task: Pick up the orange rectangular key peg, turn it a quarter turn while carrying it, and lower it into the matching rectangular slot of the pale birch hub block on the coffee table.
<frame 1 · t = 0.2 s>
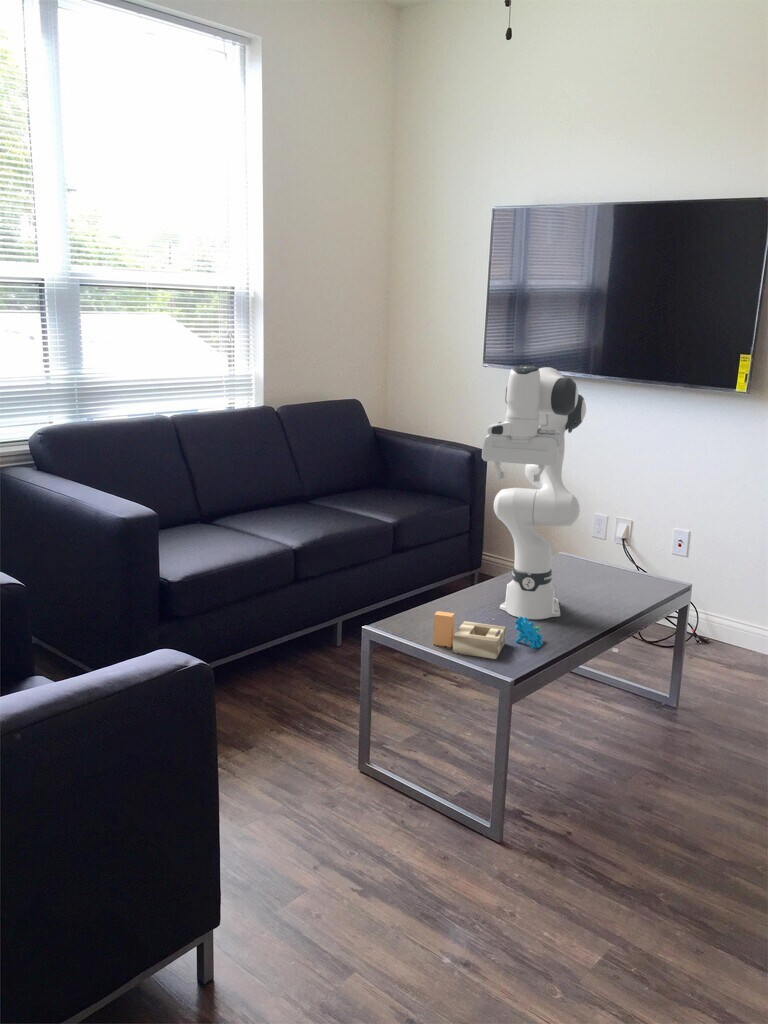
hand: (518, 479, 231), 47 cm above the table, tool pointing down, fingers open, 8 cm apart
key peg: (443, 644, 242), on the table
hub block: (479, 648, 240), on the table
gear: (528, 645, 243), on the table
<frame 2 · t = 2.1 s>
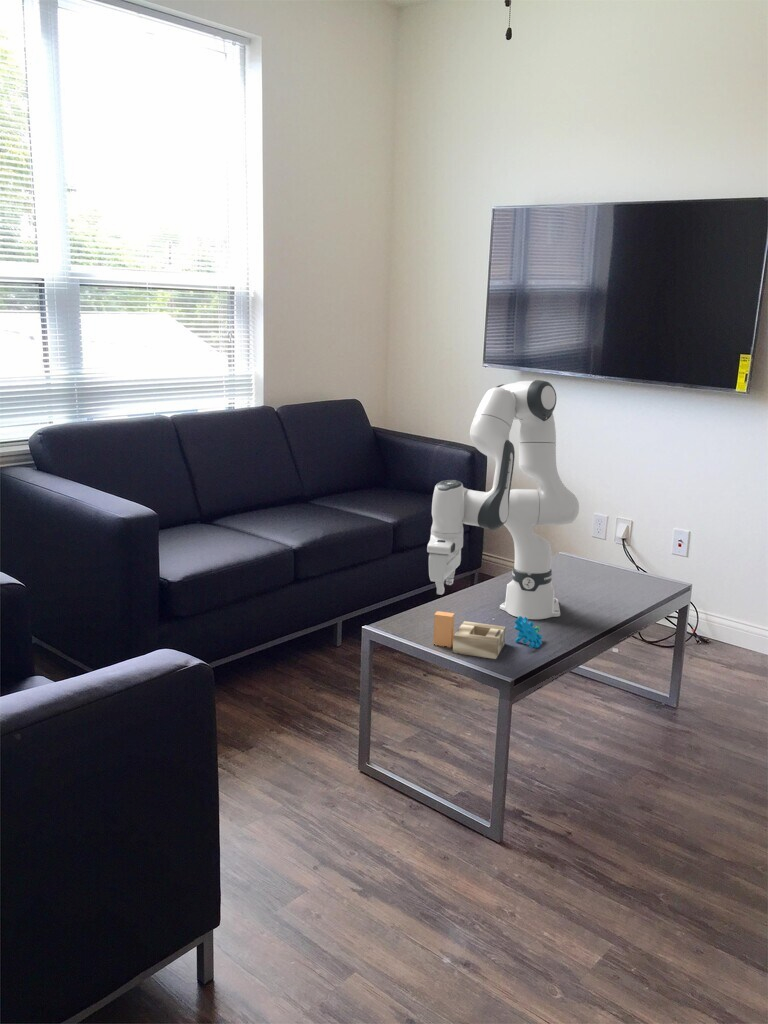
hand: (445, 589, 238), 16 cm above the table, tool pointing down, fingers open, 8 cm apart
nothing on the table moved.
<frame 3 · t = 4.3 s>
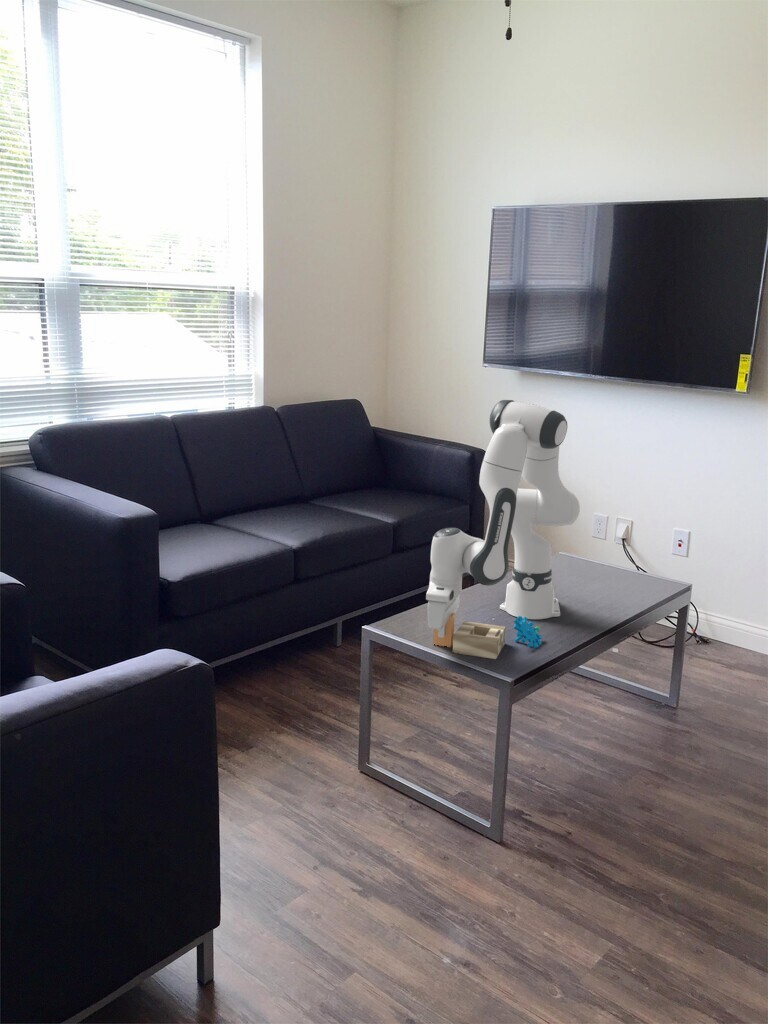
hand: (443, 633, 241), 3 cm above the table, tool pointing down, fingers closed on key peg, 3 cm apart
key peg: (443, 644, 242), on the table, touching gripper
everything else where it was.
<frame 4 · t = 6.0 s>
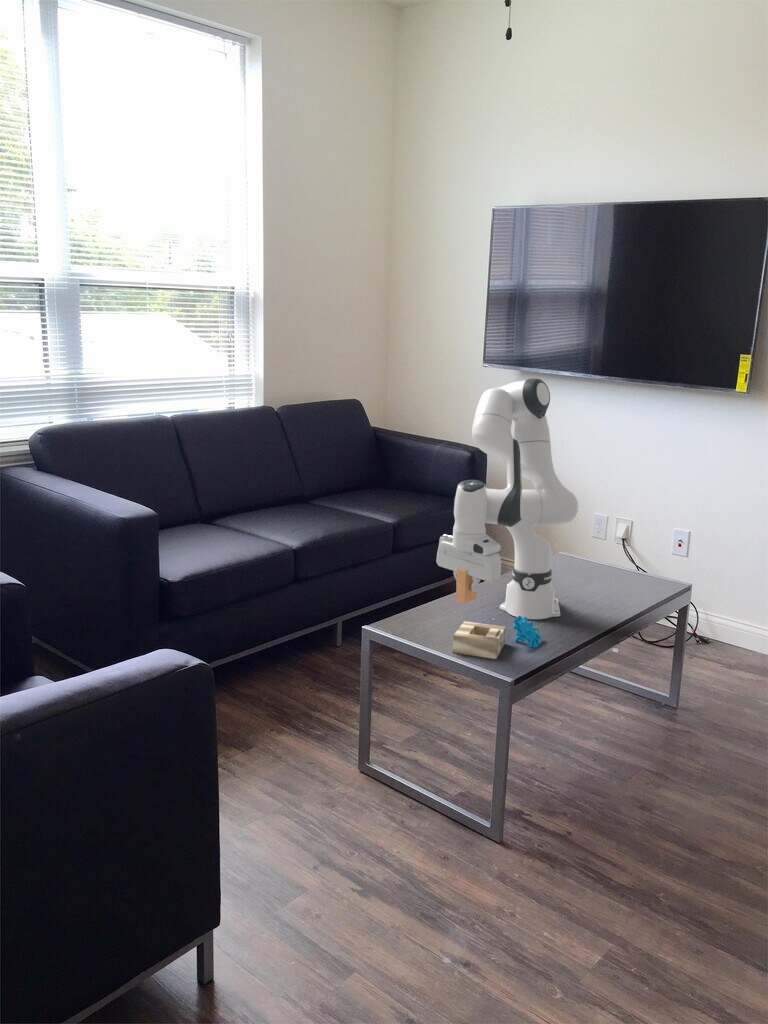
hand: (466, 588, 238), 17 cm above the table, tool pointing down, fingers closed on key peg, 3 cm apart
key peg: (465, 599, 239), point 13 cm above the table, touching gripper
everything else where it was.
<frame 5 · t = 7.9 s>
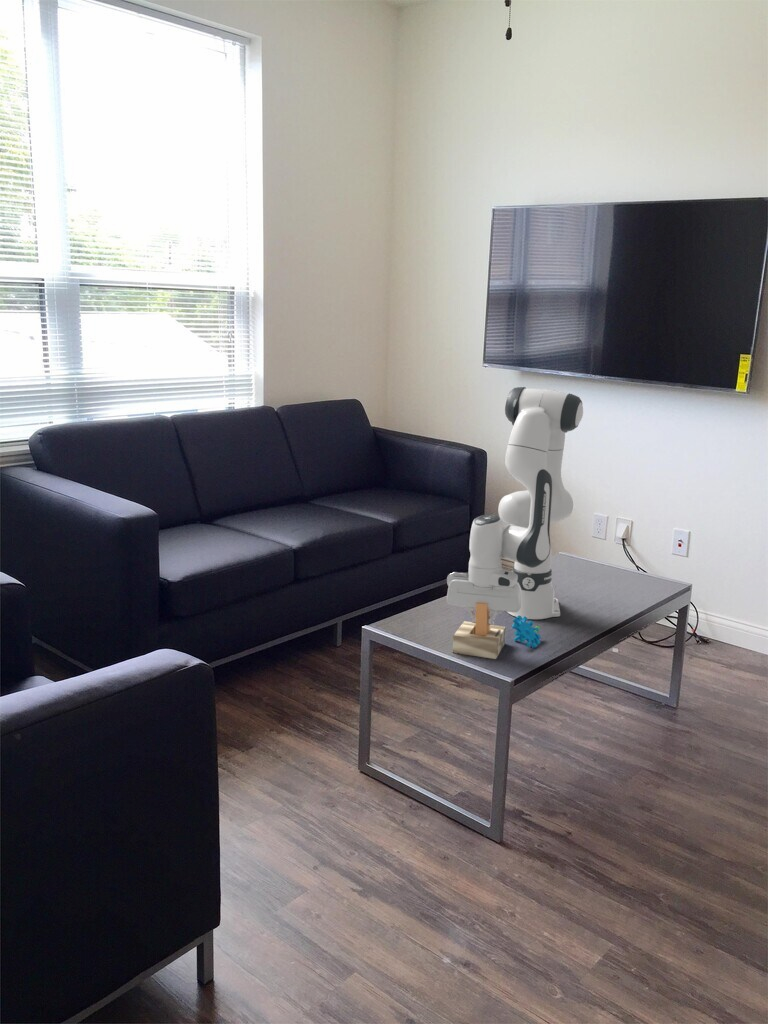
hand: (482, 623, 238), 7 cm above the table, tool pointing down, fingers closed on key peg, 3 cm apart
key peg: (482, 632, 238), point 5 cm above the table, touching gripper, hub block
everything else where it was.
when the fingers open (7 cm above the table, at t = 9.0 s): key peg drops 4 cm, resting in hub block.
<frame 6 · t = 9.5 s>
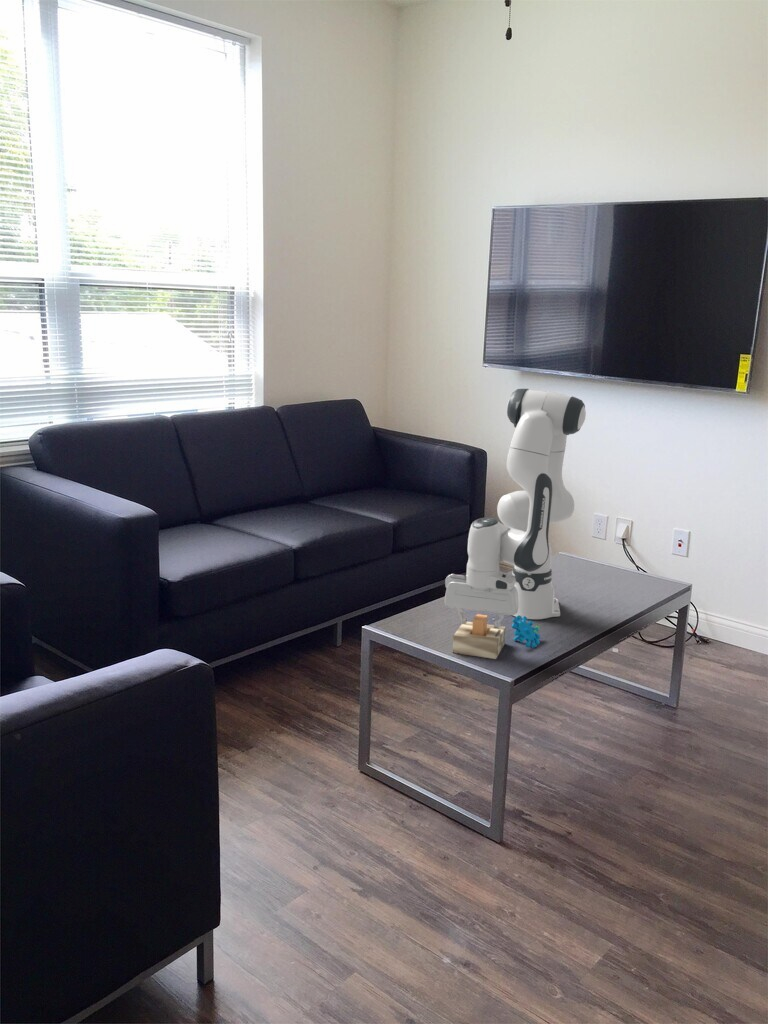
hand: (480, 625, 238), 7 cm above the table, tool pointing down, fingers open, 8 cm apart
key peg: (478, 648, 240), resting in hub block
everything else where it was.
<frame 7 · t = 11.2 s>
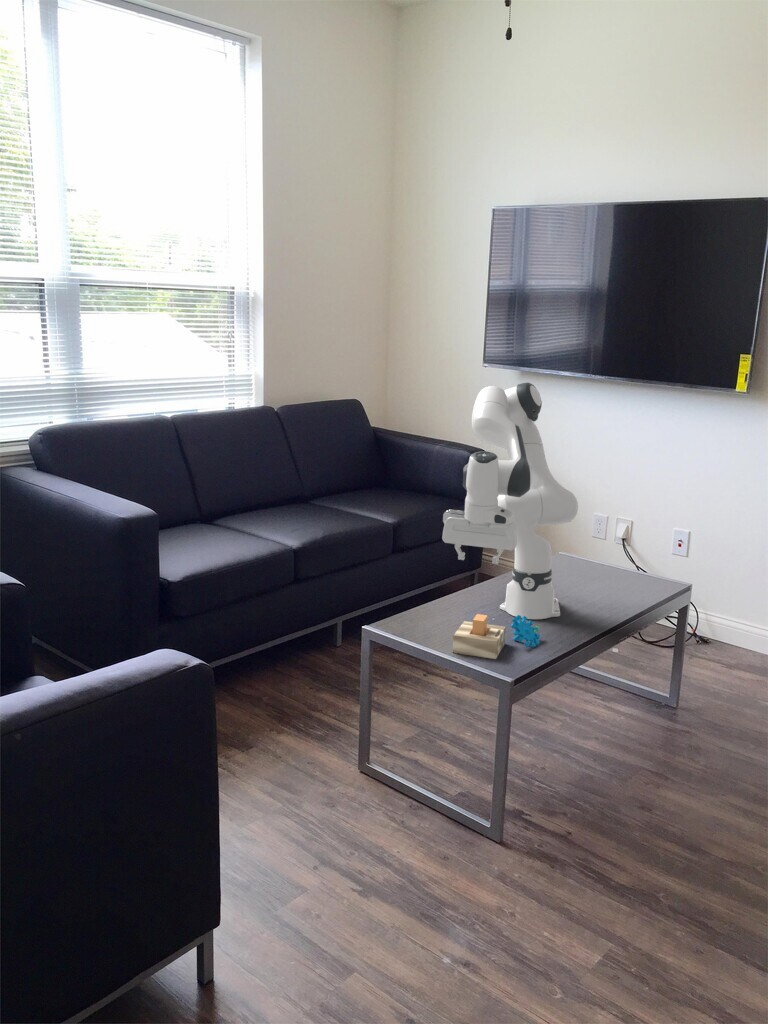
hand: (478, 561, 237), 24 cm above the table, tool pointing down, fingers open, 8 cm apart
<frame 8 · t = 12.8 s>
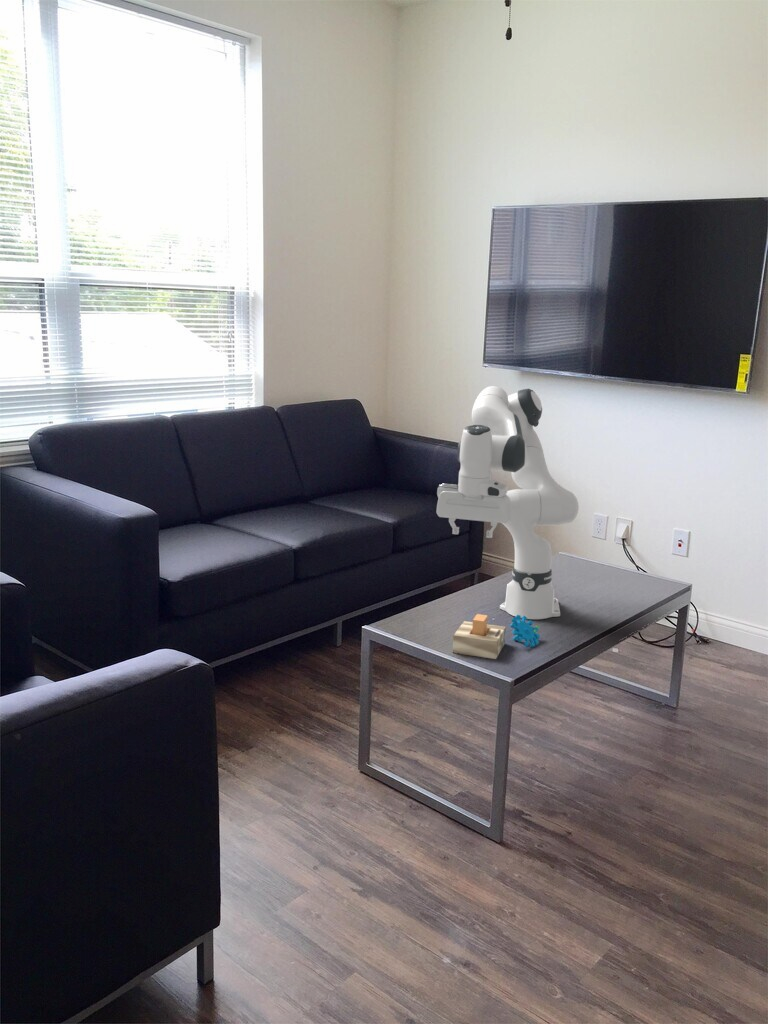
hand: (472, 535, 237), 31 cm above the table, tool pointing down, fingers open, 8 cm apart
at the end: key peg 0.1 cm off-centre on the hub block, point 0.0 cm above the hub block's base; key peg tilted 0°; the gripper is holding nothing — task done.
